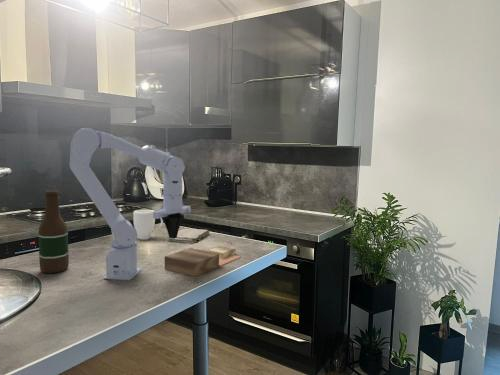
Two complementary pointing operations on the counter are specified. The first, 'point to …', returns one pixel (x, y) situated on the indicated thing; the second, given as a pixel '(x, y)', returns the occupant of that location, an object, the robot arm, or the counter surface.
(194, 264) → the brown flat block
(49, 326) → the counter surface
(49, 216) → the beer bottle
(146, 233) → the mug
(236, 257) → the mat
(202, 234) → the washcloth
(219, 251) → the tile
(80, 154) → the robot arm
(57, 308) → the counter surface
